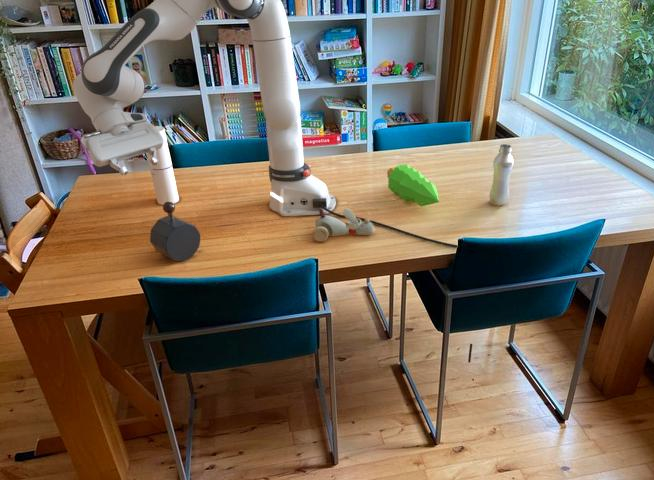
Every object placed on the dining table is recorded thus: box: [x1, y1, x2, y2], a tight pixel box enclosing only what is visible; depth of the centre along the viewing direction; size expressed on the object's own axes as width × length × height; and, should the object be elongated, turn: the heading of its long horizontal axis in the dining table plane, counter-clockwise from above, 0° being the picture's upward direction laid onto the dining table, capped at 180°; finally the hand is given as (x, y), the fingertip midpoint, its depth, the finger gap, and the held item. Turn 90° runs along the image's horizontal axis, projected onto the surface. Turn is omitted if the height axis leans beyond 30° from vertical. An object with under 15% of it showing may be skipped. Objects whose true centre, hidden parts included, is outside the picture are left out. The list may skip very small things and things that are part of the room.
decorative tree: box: [386, 163, 440, 208], centre depth 184 cm, size 11×12×30 cm
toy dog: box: [312, 208, 375, 243], centre depth 165 cm, size 12×19×9 cm, turn 114°
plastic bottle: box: [488, 143, 514, 206], centre depth 180 cm, size 6×7×20 cm
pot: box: [149, 202, 201, 262], centre depth 153 cm, size 8×11×17 cm
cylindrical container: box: [145, 125, 180, 206], centre depth 183 cm, size 7×7×25 cm
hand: (141, 169), depth 151 cm, fingers open, 8 cm apart
